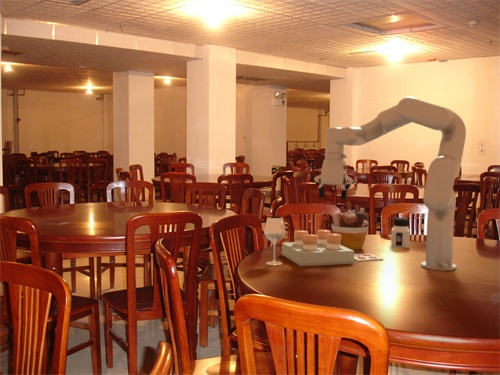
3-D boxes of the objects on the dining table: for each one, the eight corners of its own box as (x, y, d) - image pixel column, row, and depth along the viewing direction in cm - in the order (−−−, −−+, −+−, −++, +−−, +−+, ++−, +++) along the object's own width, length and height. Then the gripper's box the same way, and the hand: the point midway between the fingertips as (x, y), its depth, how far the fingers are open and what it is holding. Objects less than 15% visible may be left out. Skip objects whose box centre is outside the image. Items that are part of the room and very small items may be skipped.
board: (353, 263, 213) (354, 250, 213) (300, 266, 207) (300, 253, 207) (330, 252, 234) (331, 241, 234) (281, 254, 228) (282, 242, 228)
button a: (342, 253, 215) (343, 235, 214) (329, 253, 214) (330, 236, 213) (336, 250, 220) (337, 233, 220) (324, 251, 219) (324, 233, 218)
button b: (332, 248, 225) (332, 231, 224) (319, 249, 223) (320, 232, 223) (327, 246, 230) (327, 229, 229) (314, 246, 228) (314, 229, 228)
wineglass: (259, 264, 209) (260, 217, 208) (269, 260, 216) (270, 215, 215) (279, 267, 205) (280, 219, 204) (288, 263, 212) (289, 216, 211)
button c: (319, 254, 212) (319, 236, 212) (305, 254, 211) (306, 236, 210) (313, 251, 218) (314, 234, 217) (300, 252, 216) (300, 234, 216)
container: (409, 248, 248) (410, 219, 247) (391, 247, 249) (392, 218, 248) (408, 245, 255) (409, 217, 254) (391, 244, 257) (392, 216, 256)
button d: (309, 249, 222) (310, 232, 221) (296, 250, 220) (296, 232, 220) (304, 247, 227) (305, 230, 227) (291, 247, 226) (292, 230, 225)
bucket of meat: (369, 252, 235) (371, 206, 233) (330, 251, 237) (331, 205, 235) (365, 244, 255) (367, 201, 253) (330, 243, 257) (331, 200, 255)
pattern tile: (383, 260, 220) (383, 258, 220) (358, 261, 217) (358, 259, 217) (370, 254, 231) (370, 252, 231) (346, 255, 228) (346, 253, 228)
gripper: (357, 158, 225) (355, 199, 226) (319, 156, 234) (318, 196, 236) (349, 158, 218) (348, 201, 220) (311, 156, 228) (309, 197, 230)
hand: (332, 198), depth 228 cm, fingers open, 9 cm apart
